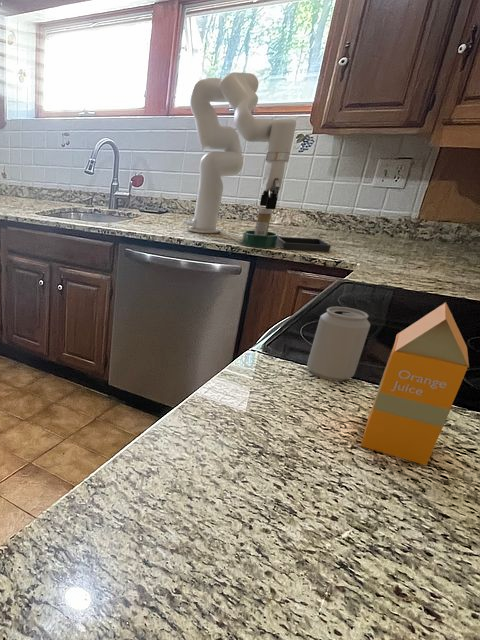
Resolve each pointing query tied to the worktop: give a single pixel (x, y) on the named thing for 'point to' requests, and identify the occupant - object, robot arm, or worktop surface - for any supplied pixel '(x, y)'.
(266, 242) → the bowl
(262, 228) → the sprinkles bottle
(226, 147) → the robot arm
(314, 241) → the tray
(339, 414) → the worktop surface
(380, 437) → the orange juice
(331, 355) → the can
